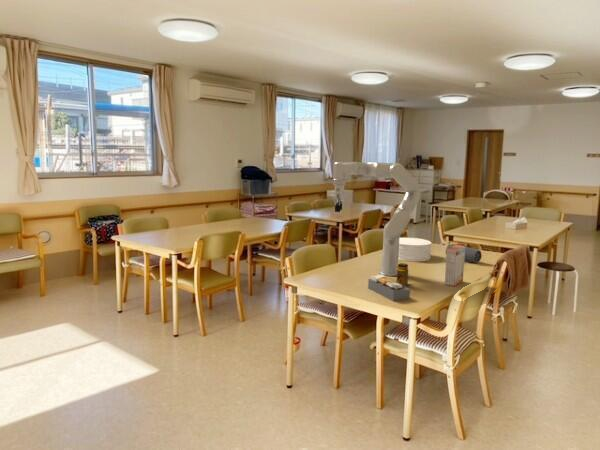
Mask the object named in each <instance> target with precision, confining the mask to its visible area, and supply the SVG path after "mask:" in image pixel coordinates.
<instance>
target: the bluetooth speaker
mask: <svg viewBox="0 0 600 450" xmlns="http://www.w3.org/2000/svg"><path fill="white" fill-rule="evenodd" d="M455 245H456V244H448V245H447V246H446V249H445V255H447V249H448V248H451V247H453V246H455ZM482 256H483V255H482V252H481V250H479V249H477V248H472V247H468V246H465V258H464V263H472V262H473V263H479V262H480V261H481V260H482Z"/></svg>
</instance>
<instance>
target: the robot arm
mask: <svg viewBox="0 0 600 450" xmlns="http://www.w3.org/2000/svg"><path fill="white" fill-rule="evenodd" d="M332 173H333V176H332V177H333V182H332V186H334V203H335V205H334V212H335V213H340V212H341V211H342V210H343V202H344V201H345V186H346V182H347V181H346V180H347V175H350V176H354V175H360V176H361V175H362V176H365V175H366V176H370V177H373V178H389V179H391V178H392V179H394V181H395V182H396V183H397V184H398V185H399V186H400V187H401V188H402V189H403V190H404V191H405V195H404V197H403V199H402V200H401V202H400V203H399V205H398V206H397V208H396V209H395V210H394V212H393V216H392V217H391V219H390V220H389V221H388V222H387V223H386V224H385V225H384V227H383V238H382V256H381V257H382V258H381V259H382V260H381V269H379V271H378V273H379V275H380V274H382V275H384V276H386V277H387V276H389V277H395V276H396V277H397V269H398V264H399V260H398V255H399V238H401V235H402V234H403V232H404V231H405V229H406V228H407V226H408V224H409V223H410V221H411V218H412V213H413V212H414V210H415V208H416V206H417V205H418V203H419V201H420V197H421V188H420V185H419V182H418V180H417V179H415V177H414V176H413V175H412V174H411V173H410V172H409V171H408V170H407V169H406V168H405V167H404V166H403V165H402V164H401V163H396V162H393V163H392V162H363V161H362V162H361V161H359V162H358V161H351V162H345V161H344V162H341V161H336V162H334V163H333V172H332Z"/></svg>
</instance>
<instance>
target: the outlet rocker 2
mask: <svg viewBox="0 0 600 450" xmlns="http://www.w3.org/2000/svg"><path fill="white" fill-rule="evenodd" d="M379 281H380V282H382V283H384V284H387V282H392V283H394V282H395V281H394V280H392V279H388V278H386V279H380V278H379Z"/></svg>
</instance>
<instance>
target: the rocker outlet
mask: <svg viewBox="0 0 600 450" xmlns="http://www.w3.org/2000/svg"><path fill="white" fill-rule="evenodd" d="M386 285H388V286H390V287H392V288H395V289H398V288H402V285H401V284H398V283H397V282H395V283H392V282H387V284H386Z"/></svg>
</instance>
